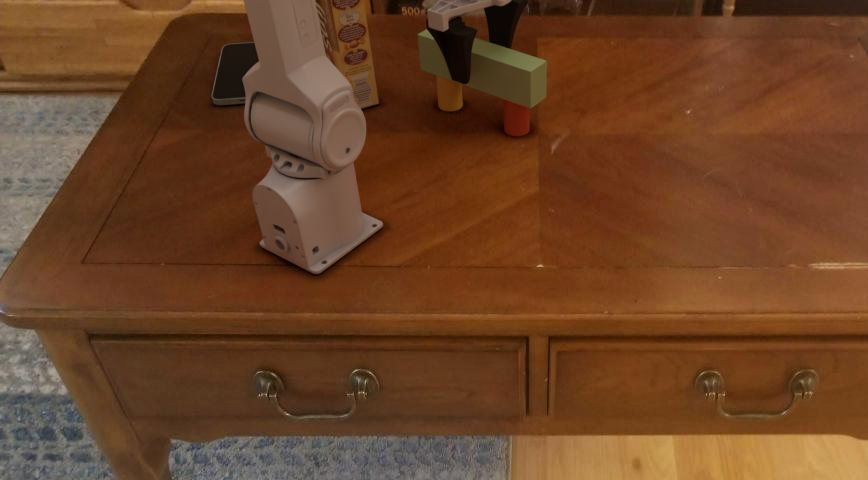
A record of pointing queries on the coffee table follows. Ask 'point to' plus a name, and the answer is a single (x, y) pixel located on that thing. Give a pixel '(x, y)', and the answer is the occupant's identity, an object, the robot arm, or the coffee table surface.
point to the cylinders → (513, 113)
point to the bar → (492, 70)
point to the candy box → (349, 46)
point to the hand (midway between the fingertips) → (480, 68)
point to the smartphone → (233, 73)
